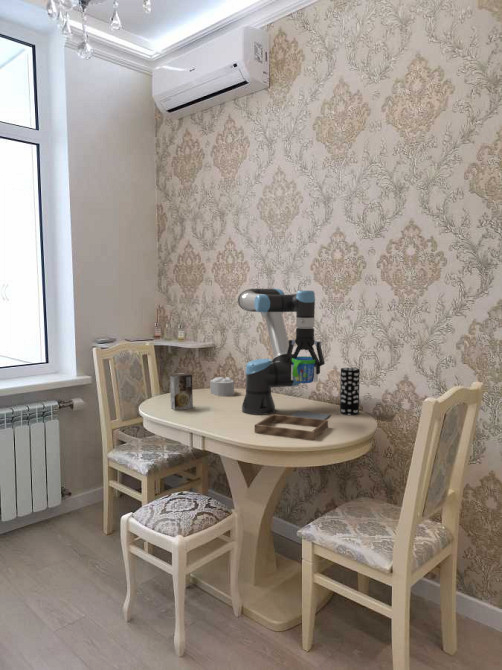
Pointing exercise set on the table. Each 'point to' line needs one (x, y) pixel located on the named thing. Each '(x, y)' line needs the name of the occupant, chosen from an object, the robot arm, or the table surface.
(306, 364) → the snack cup
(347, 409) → the spotted tube
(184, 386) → the coffee box
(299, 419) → the wooden frame
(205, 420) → the table surface
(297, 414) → the slate mat
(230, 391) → the lumpy-topped squat cylinder
